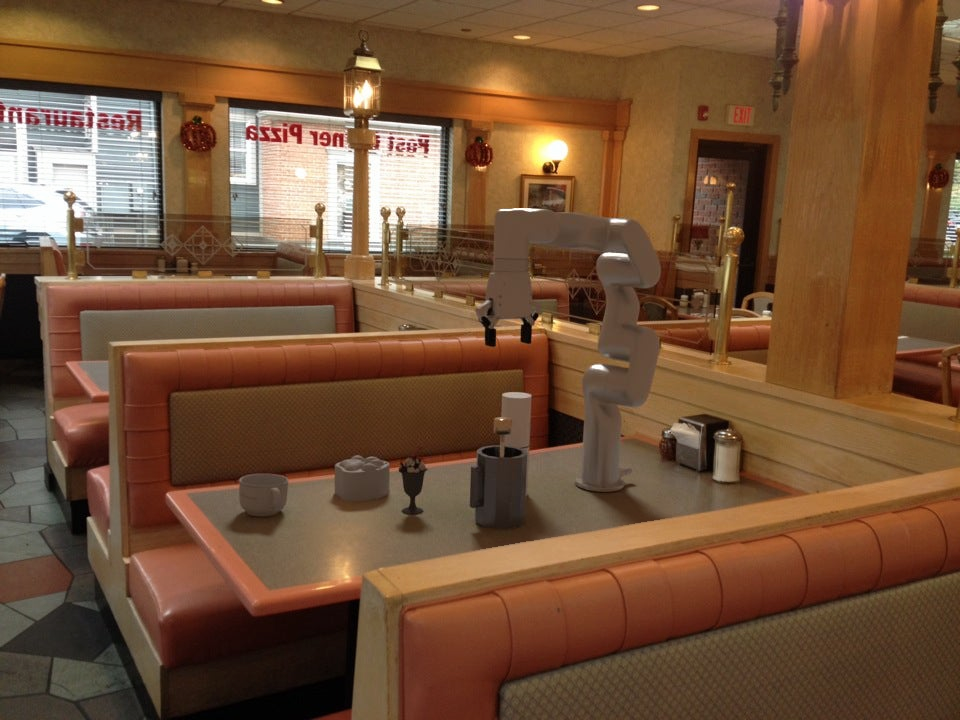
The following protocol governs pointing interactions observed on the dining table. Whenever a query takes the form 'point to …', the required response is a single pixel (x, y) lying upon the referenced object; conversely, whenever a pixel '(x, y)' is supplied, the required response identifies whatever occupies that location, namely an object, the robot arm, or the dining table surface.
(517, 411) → the cylindrical container
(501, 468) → the press carafe
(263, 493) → the teacup
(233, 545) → the dining table surface
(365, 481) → the lumpy-topped squat cylinder
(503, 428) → the plunger
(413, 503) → the sundae
